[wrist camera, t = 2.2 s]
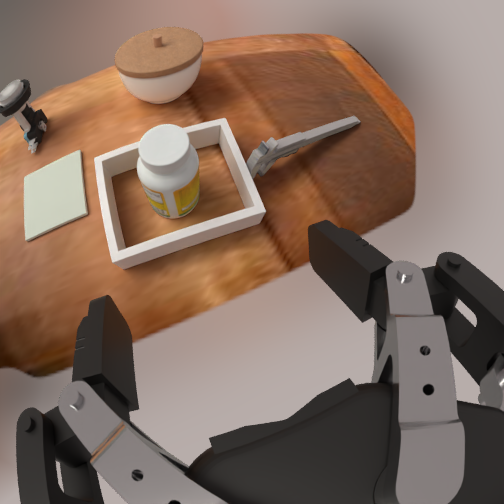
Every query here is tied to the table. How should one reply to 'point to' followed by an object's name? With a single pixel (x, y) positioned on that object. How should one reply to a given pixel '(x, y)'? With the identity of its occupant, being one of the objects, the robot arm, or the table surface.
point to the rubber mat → (54, 195)
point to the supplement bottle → (169, 170)
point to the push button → (23, 111)
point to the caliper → (292, 145)
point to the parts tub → (190, 235)
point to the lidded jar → (160, 63)
